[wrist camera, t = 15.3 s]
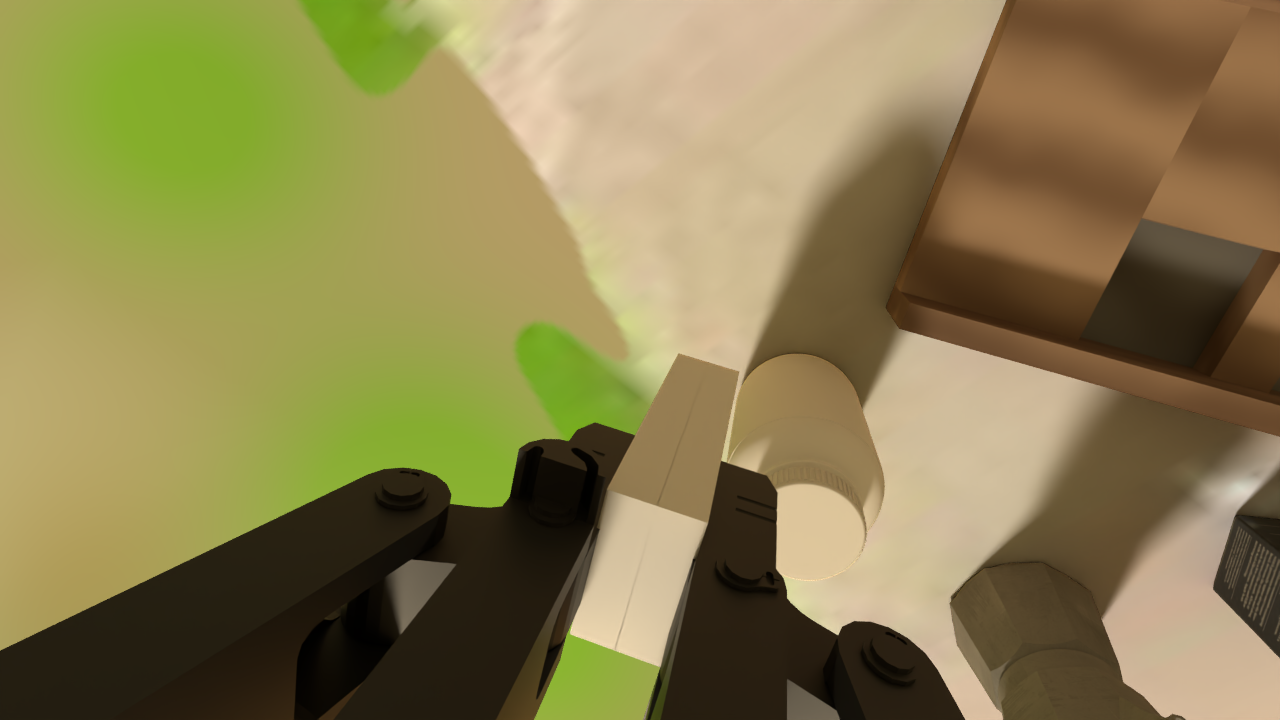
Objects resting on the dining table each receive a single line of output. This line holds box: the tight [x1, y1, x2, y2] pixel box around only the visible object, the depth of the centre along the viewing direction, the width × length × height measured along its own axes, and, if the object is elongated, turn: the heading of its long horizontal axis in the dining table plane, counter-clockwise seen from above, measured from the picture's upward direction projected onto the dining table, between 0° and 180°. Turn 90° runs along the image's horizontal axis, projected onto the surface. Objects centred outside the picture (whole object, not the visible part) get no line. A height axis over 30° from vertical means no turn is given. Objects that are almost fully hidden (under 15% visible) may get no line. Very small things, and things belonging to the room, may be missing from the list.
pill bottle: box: [727, 354, 885, 581], centre depth 35 cm, size 8×8×15 cm
